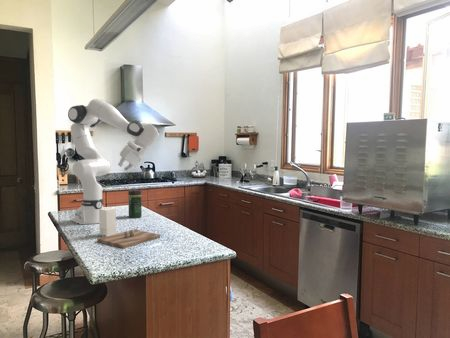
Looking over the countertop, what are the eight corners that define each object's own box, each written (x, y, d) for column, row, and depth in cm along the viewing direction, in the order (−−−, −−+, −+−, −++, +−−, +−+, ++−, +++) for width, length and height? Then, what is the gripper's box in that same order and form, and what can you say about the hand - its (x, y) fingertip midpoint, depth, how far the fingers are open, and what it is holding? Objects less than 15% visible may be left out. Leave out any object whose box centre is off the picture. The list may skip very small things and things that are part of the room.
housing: (99, 234, 197) (99, 209, 196) (108, 232, 202) (108, 207, 201) (106, 236, 194) (106, 210, 193) (116, 234, 199) (115, 208, 198)
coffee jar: (143, 217, 242) (142, 189, 240) (131, 218, 238) (130, 190, 236) (139, 214, 250) (138, 187, 249) (127, 216, 246) (126, 188, 245)
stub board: (97, 241, 184) (97, 232, 184) (133, 231, 204) (133, 223, 204) (124, 248, 173) (123, 239, 173) (160, 237, 193) (160, 229, 193)
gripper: (140, 151, 219) (125, 169, 217) (127, 139, 199) (111, 159, 197) (147, 157, 217) (132, 175, 215) (136, 146, 198) (119, 166, 196)
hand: (122, 168), depth 206 cm, fingers open, 8 cm apart
